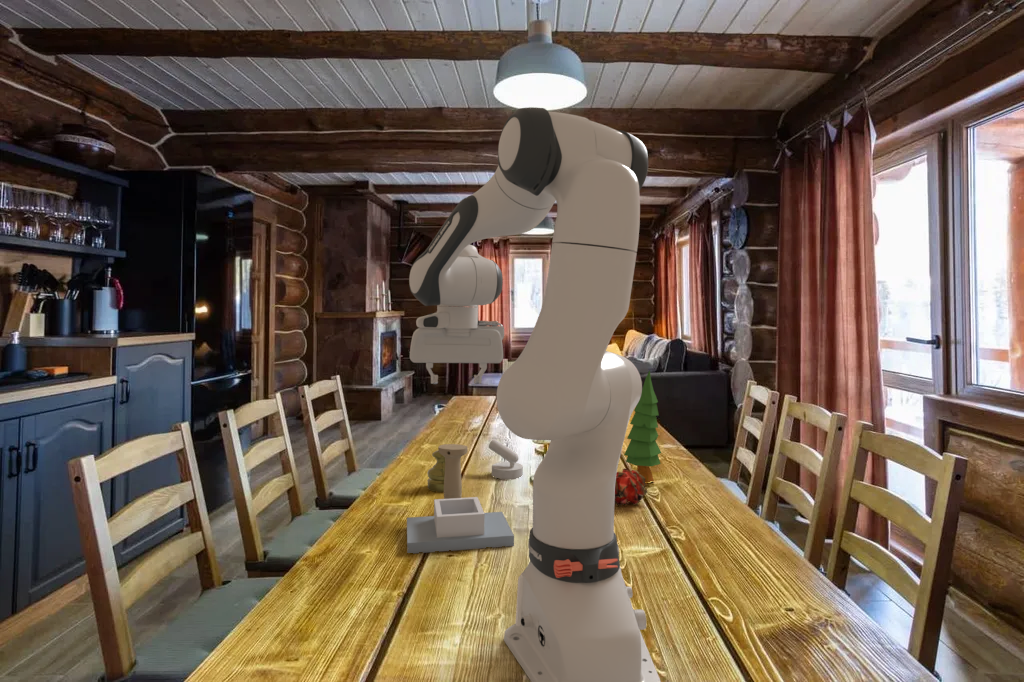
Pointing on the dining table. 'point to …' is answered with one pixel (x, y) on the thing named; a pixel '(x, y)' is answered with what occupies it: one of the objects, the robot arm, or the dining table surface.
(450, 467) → the handle
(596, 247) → the robot arm
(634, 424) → the decorative tree
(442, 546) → the grey base with socket
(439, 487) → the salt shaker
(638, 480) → the dragon fruit
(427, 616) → the dining table surface
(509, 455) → the wall hook
